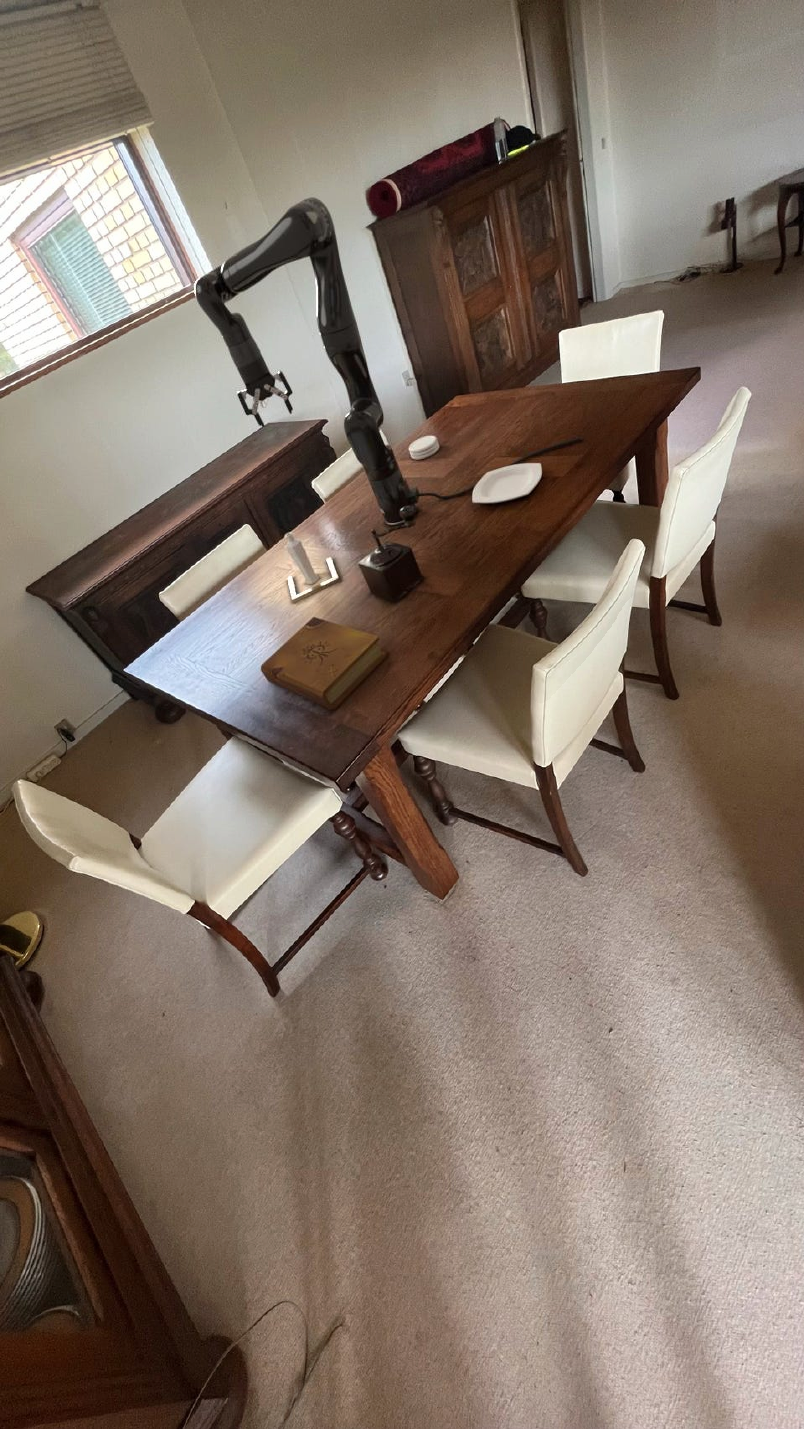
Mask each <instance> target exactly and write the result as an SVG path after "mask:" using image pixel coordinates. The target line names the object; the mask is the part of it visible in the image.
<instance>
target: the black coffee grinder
mask: <svg viewBox="0 0 804 1429" xmlns="http://www.w3.org/2000/svg"><path fill="white" fill-rule="evenodd" d="M416 515H417V509H416V510H415V508H414V507H412V506H405V507H403V508H402V509H401V510H400V516H401V517H402V518H403V519H404V523H403V524H401V525H397V526H391V527H390V528H388V529H386V530H384V531H381V532H380V533H377V530H376V529H375V528H372V529H371V530H370V534H371V535H372V539H374V540H375V543H376V545H377V547H376V548H375V549H374V550H372V552H370V553H369V554H368V555H366V556H365V557H363V558H362V559H361V560H360V561H358V562H357V565H358V567H359V569H360V572H361V574H362V576H363V578H364V580H365V583H366V585H367V587H368V589H369V592H370V593H371V594H373V595H375V597H379V598H382V599H383V600H387V601H389V602H391V603H396V602H398V601H399V600H400V599H402V598H403V597H404V596H406V595H407V594H408V593H409V592H411V591H412V590H413V589H414V588H415V587H416V586H418V584H419V583H420V582H421V581H422V580H423V579H424V576H423V575H422V572H421V570H420V567H419V564H418V562H417V560H416V557H415V554H414V552H413V549H412V547H411V546H407V545H403V544H400V543H396V542H392V541H388V540H386V541H384V542H383V543H381V541H380V539H379V538H381V537H384V536H386V535H388V534H390V533H392V532H395V531H398V530H403V529H406V528H407V529H410V528H411V527H414V526H415V525H416V522H415V520H414V519H415V516H416Z"/></svg>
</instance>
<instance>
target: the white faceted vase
mask: <svg viewBox="0 0 804 1429" xmlns="http://www.w3.org/2000/svg"><path fill="white" fill-rule="evenodd" d="M284 538H285V539H286V541H287V543H286V545H285V547H284V548H285V550H286V551H287V553H288V554H289V556H290V558H291V560H293V562H294V563H295V565H296V566H297V568H298V570H299V571H300V573H301V575H303V577H304V579H305V582H306V585H314V584H315V583H316V582H318V580H319V579H320V578H319V577H318V575H317V574H316V573H315V570H314V568H313V565H312V563H311V561H310V559H309V557H308V555H307V553H306V552H307V551H306V550H305V548H304V546H303V543H302V541H301V539H299V538H298V537H294V535H293V533H292V532H291V531H290V532H287V533H285V535H284Z"/></svg>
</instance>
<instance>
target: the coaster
mask: <svg viewBox="0 0 804 1429" xmlns="http://www.w3.org/2000/svg"><path fill="white" fill-rule="evenodd" d="M439 449H440V444H439V441H438V438H437V437H436V436H435V435H425V436H422V437H420V438H418V439H415V440H414V441H412V443H411V444H410V445H409V446H408V452H409V454H410V457H411V459H413V460H416V461H418V460H424V459H427V458H429V457H431V456H433V455H435V454H436V453H437V452H438V451H439Z"/></svg>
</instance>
